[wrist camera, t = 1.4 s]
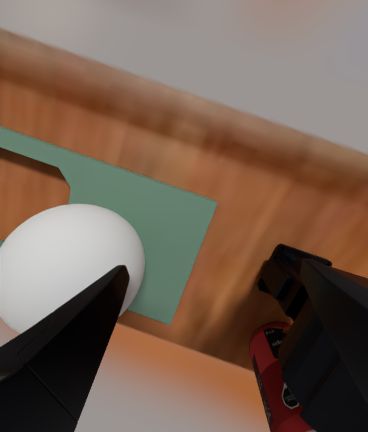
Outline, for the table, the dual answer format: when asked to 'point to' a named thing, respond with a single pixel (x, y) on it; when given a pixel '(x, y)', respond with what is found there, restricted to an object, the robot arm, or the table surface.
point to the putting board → (134, 217)
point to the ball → (64, 260)
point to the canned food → (275, 380)
